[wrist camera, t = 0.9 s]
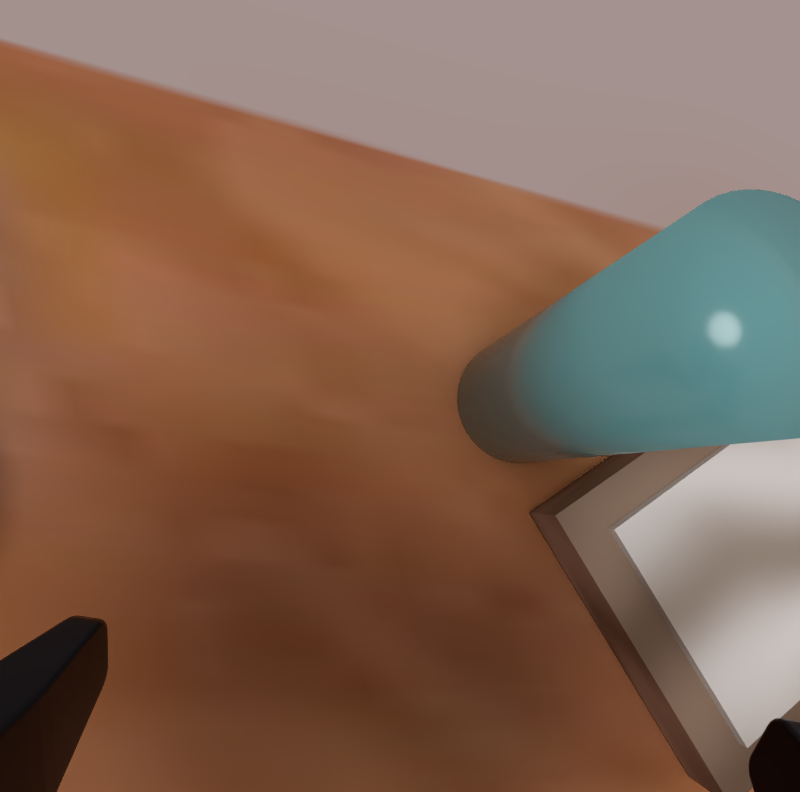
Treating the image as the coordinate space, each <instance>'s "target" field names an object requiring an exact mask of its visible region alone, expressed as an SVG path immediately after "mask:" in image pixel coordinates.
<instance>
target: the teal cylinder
mask: <svg viewBox="0 0 800 792" xmlns="http://www.w3.org/2000/svg"><path fill="white" fill-rule="evenodd" d="M458 410H459V414H460V418H461V421H462V424H463V426H464V428H465V430H466V432H467V433H468V435H469V436H470V438H471V439H472V440H473V442H474V443H475V444H476V445H477V446H478V447H479V448H481V449H482V450H483V451H484V452H486V453H487V454H489V455H490V456H492V457H494V458H497V459H499V460H502V461H506V462H511V463H527V462H538V461H549V460H560V459H572V458H583V457H594V456H605V455H617V454H628V453H639V452H650V451H662V450H673V449H684V448H696V447H707V446H718V445H729V444H741V443H752V442H763V441H774V440H786V439H796V438H800V201H798V200H795V199H793V198H791V197H788V196H786V195H782V194H778V193H775V192H771V191H764V190H739V191H731V192H728V193H725V194H721V195H718V196H716V197H714V198H712V199H710V200H708V201H706V202H704V203H703V204H701V205H700V206H698V207H697V208H695V209H694V210H692V211H691V212H689V213H688V214H686V215H685V216H683V217H682V218H680V219H679V220H677V221H676V222H674V223H673V224H671V225H670V226H668V227H667V228H665V229H664V230H662V231H661V232H659V233H658V234H656V235H655V236H653V237H652V238H650V239H649V240H647V241H646V242H644V243H643V244H641V245H640V246H638V247H637V248H635V249H634V250H632V251H631V252H629V253H628V254H626V255H625V256H623V257H622V258H620V259H619V260H617V261H616V262H614V263H613V264H611V265H610V266H608V267H607V268H605V269H604V270H602V271H601V272H599V273H598V274H596V275H595V276H593V277H592V278H590V279H589V280H587V281H586V282H584V283H583V284H581V285H580V286H578V287H577V288H575V289H574V290H572V291H571V292H569V293H568V294H566V295H565V296H563V297H562V298H560V299H559V300H557V301H556V302H554V303H553V304H551V305H550V306H548V307H547V308H545V309H544V310H542V311H541V312H539V313H538V314H536V315H535V316H533V317H532V318H530V319H529V320H527V321H526V322H524V323H523V324H521V325H520V326H518V327H517V328H515V329H514V330H512V331H511V332H509V333H508V334H506V335H505V336H503V337H502V338H500V339H499V340H497V341H496V342H494V343H493V344H491V345H490V346H488V347H487V348H485V349H484V350H482V351H481V352H480V353H478V354H477V355H476V356H475V357H474V358H473V359H472V360H471V361H470V363H469V364H468V365H467V367H466V369H465V370H464V372H463V375H462V377H461V380H460V383H459V388H458Z"/></svg>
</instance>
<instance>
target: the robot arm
mask: <svg viewBox="0 0 800 792" xmlns="http://www.w3.org/2000/svg"><path fill="white" fill-rule="evenodd" d="M107 670H108V636H107V625H106V622H105V621H104V620H102V619H98V618H91V617H84V616H72V617H69V618H67V619H65V620H64V621H62V622H61V623H59V624H58V625H56V626H54V627H53V628H51V629H50V630H48V631H46V632H45V633H43V634H42V635H40V636H38V637H37V638H35V639H34V640H32V641H30V642H29V643H27V644H26V645H24V646H23V647H21V648H19V649H18V650H16V651H15V652H13V653H11V654H10V655H8V656H7V657H5V658H3V659H2V660H0V792H57V790H58V788H59V785H60V783H61V781H62V778H63V776H64V774H65V772H66V769H67V767H68V765H69V763H70V760H71V758H72V756H73V753H74V751H75V749H76V747H77V744H78V742H79V740H80V738H81V735H82V733H83V731H84V728H85V726H86V724H87V722H88V719H89V717H90V715H91V713H92V710H93V708H94V706H95V703H96V701H97V699H98V697H99V694H100V692H101V690H102V687H103V685H104V682H105V679H106V675H107ZM749 776H750V780H751V783H752V786H753V789H754V792H800V721H797V720H790V719H783V718H775V719H773V720H772V721H770V723H769V724H768V725H767V727H766V729H765V731H764V732H763V734H762V736H761V738H760V740H759V741H758V743H757V745H756V747H755V748H754V750H753V752H752V754H751V756H750V758H749Z"/></svg>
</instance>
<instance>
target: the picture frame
mask: <svg viewBox="0 0 800 792" xmlns="http://www.w3.org/2000/svg"><path fill="white" fill-rule="evenodd" d="M530 514H531V516H532V518H533V519H534V521H535V523H536V524H537V526H538V528H539V529H540V531H541V533H542V534H543V536H544V538H545V539H546V541H547V543H548V544H549V546H550V548H551V549H552V551H553V552H554V554H555V556H556V557H557V559H558V561H559V562H560V564H561V566H562V567H563V569H564V571H565V572H566V574H567V576H568V577H569V579H570V581H571V582H572V584H573V586H574V587H575V589H576V591H577V592H578V594H579V596H580V597H581V599H582V600H583V602H584V604H585V605H586V607H587V609H588V610H589V612H590V614H591V615H592V617H593V619H594V620H595V622H596V624H597V625H598V627H599V629H600V630H601V632H602V634H603V635H604V637H605V639H606V640H607V642H608V644H609V645H610V647H611V649H612V650H613V652H614V653H615V655H616V657H617V658H618V660H619V662H620V663H621V665H622V667H623V668H624V670H625V672H626V673H627V675H628V677H629V678H630V680H631V682H632V683H633V685H634V687H635V688H636V690H637V692H638V693H639V695H640V697H641V698H642V700H643V701H644V703H645V705H646V706H647V708H648V710H649V711H650V713H651V715H652V716H653V718H654V720H655V721H656V723H657V725H658V726H659V728H660V730H661V731H662V733H663V735H664V736H665V738H666V740H667V741H668V743H669V745H670V746H671V748H672V749H673V751H674V753H675V754H676V756H677V758H678V759H679V761H680V763H681V764H682V766H683V768H684V769H685V771H686V773H687V774H688V776H689V777H690V778H692V779H693V780H695V781H696V782H697V783H699V784H700V785H702V786H703V787H704V788H706V789H707V790H709V791H710V792H748V791H750V790H751V789H752V788H753V786H752V783H751V780H750V776H749V758H750V756H751V754H752V752H753V750H754V748H755V747H756V745H757V743H758V741H759V740H760V738H761V736H762V734H763V732H764V731H765V729H766V727H767V725H768V724H769V723H770V721H772V720H773V719H775V718H783V719H790V720H797V721H800V438H796V439H786V440H774V441H763V442H752V443H741V444H729V445H718V446H707V447H696V448H684V449H673V450H662V451H650V452H639V453H628V454H617V455H612V456H610V457H609V458H607V459H606V460H605V461H603V462H602V463H600V464H599V465H597V466H596V467H594V468H593V469H592V470H590V471H589V472H587V473H586V474H584V475H583V476H582V477H580V478H579V479H577V480H576V481H574V482H573V483H571V484H570V485H569V486H567V487H566V488H564V489H563V490H561V491H560V492H558V493H557V494H556V495H554V496H553V497H551V498H550V499H548V500H547V501H545V502H544V503H543V504H541V505H540V506H538V507H537V508H535V509H534V510H532V511H531V512H530Z"/></svg>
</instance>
